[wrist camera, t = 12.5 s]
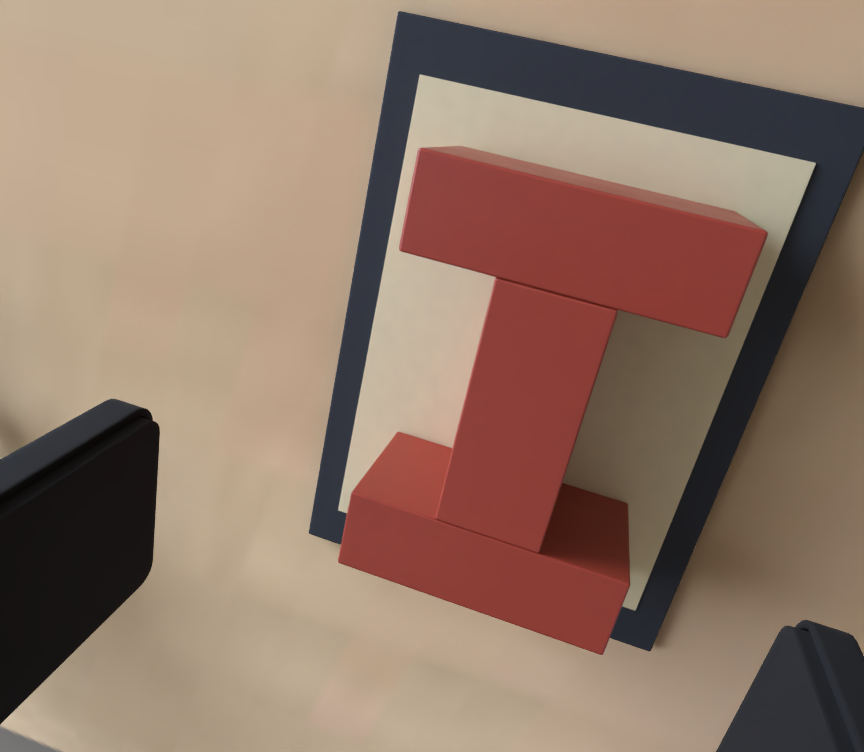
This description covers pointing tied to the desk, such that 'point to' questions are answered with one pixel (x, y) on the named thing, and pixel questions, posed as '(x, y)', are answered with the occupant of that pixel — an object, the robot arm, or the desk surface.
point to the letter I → (536, 384)
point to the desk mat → (632, 334)
